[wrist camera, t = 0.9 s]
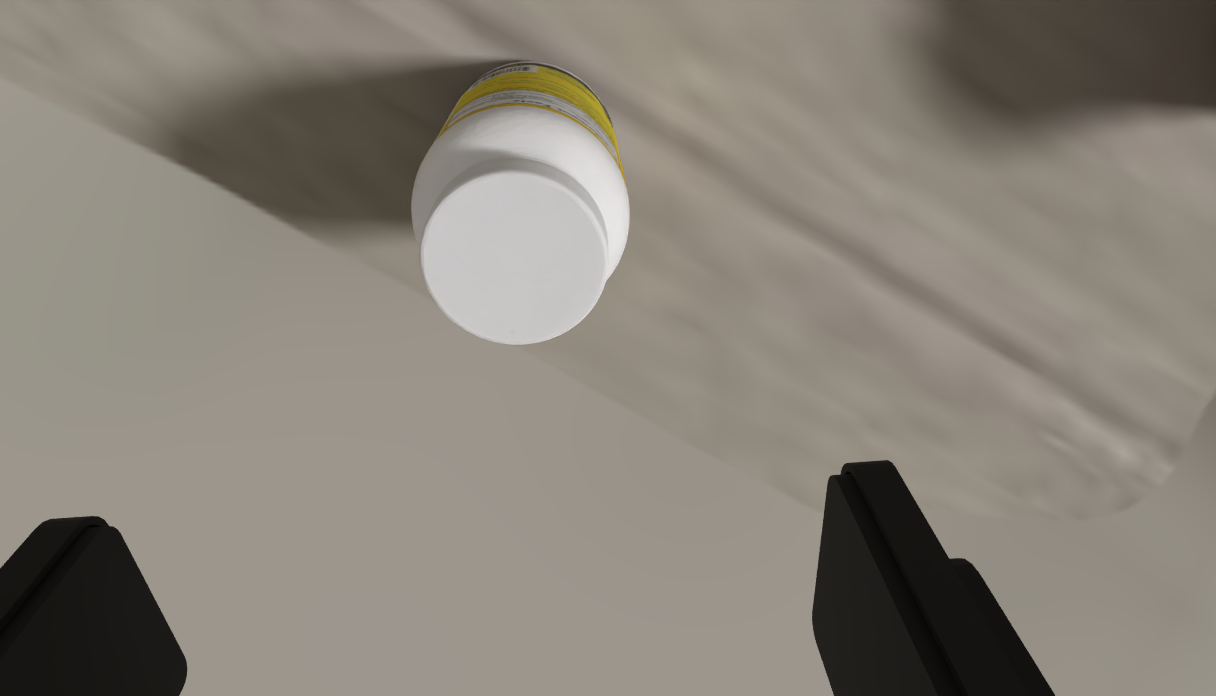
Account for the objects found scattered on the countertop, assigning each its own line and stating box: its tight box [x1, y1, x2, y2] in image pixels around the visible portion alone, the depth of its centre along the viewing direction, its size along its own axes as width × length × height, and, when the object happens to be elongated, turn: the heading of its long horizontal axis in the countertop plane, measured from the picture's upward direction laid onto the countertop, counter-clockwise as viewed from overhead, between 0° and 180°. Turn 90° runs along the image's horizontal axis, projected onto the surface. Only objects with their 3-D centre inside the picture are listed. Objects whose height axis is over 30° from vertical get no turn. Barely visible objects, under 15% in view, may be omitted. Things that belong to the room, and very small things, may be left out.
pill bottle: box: [411, 61, 630, 345], centre depth 23 cm, size 6×6×11 cm
